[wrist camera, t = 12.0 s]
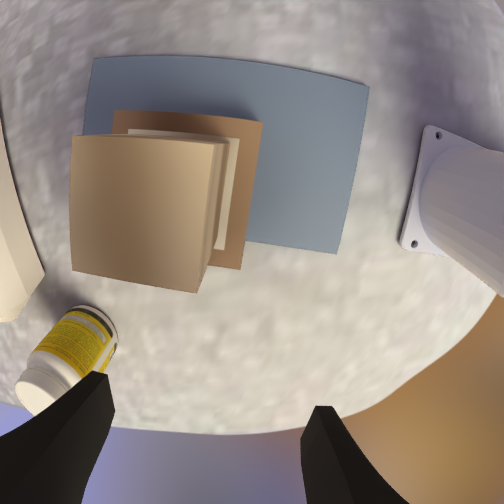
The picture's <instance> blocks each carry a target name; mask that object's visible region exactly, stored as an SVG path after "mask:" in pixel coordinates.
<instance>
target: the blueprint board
mask: <svg viewBox="0 0 504 504" xmlns="http://www.w3.org/2000/svg"><path fill="white" fill-rule="evenodd" d="M368 94H369V87H368V86H365V85H361V84H358V83H354V82H350V81H347V80H343V79H339V78H335V77H331V76H327V75H322V74H318V73H314V72H309V71H304V70H299V69H294V68H288V67H283V66H277V65H271V64H264V63H257V62H250V61H241V60H232V59H222V58H210V57H193V56H124V57H108V58H96V59H94V61H93V67H92V72H91V77H90V83H89V89H88V96H87V103H86V110H85V119H84V128H83V135H105V134H112V125H113V117H114V110H139V111H163V112H179V113H192V114H203V115H213V116H222V117H230V118H238V119H246V120H253V121H260V122H263V128H262V134H261V140H260V146H259V153H258V159H257V165H256V172H255V178H254V185H253V191H252V197H251V204H250V210H249V217H248V223H247V230H246V236H245V241H251V242H258V243H264V244H271V245H278V246H284V247H291V248H298V249H304V250H311V251H318V252H324V253H331V254H337V251H338V247H339V243H340V239H341V235H342V231H343V227H344V222H345V218H346V214H347V209H348V205H349V200H350V195H351V191H352V186H353V181H354V176H355V171H356V166H357V161H358V155H359V150H360V144H361V139H362V133H363V127H364V121H365V114H366V108H367V101H368Z"/></svg>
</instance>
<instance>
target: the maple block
mask: <svg viewBox="0 0 504 504" xmlns="http://www.w3.org/2000/svg"><path fill="white" fill-rule="evenodd" d="M229 149H230V143H227V142H220V141H211V140H202V139H193V138H183V137H171V136H159V135H144V134H105V135H80V136H72V147H71V162H70V191H69V215H70V244H71V259H72V270H73V271H77V272H82V273H87V274H92V275H97V276H102V277H107V278H112V279H117V280H122V281H128V282H133V283H139V284H144V285H150V286H155V287H161V288H167V289H173V290H179V291H185V292H191V293H197V292H198V290H199V287H200V284H201V281H202V278H203V276H204V273H205V270H206V267H207V265H208V262H209V259H210V256H211V254H212V251H213V248H214V246H215V243H216V240H217V237H218V229H219V221H220V213H221V206H222V198H223V191H224V184H225V176H226V169H227V162H228V156H229Z"/></svg>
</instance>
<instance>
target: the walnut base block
mask: <svg viewBox="0 0 504 504" xmlns="http://www.w3.org/2000/svg"><path fill="white" fill-rule="evenodd" d="M262 128H263V122H260V121H253V120H246V119H238V118H230V117H222V116H213V115H203V114H192V113H179V112H163V111H139V110H114V117H113V125H112V134H144V135H159V136H171V137H183V138H193V139H202V140H211V141H220V142H227V143H230V149H229V156H228V162H227V169H226V176H225V184H224V191H223V198H222V206H221V213H220V221H219V229H218V237H217V240H216V243H215V246H214V248H213V251H212V254H211V256H210V259H209V262H208V265H211V266H217V267H224V268H231V269H238V270H241V263H242V256H243V250H244V243H245V236H246V230H247V223H248V217H249V210H250V204H251V197H252V191H253V185H254V178H255V172H256V165H257V159H258V153H259V146H260V140H261V134H262Z"/></svg>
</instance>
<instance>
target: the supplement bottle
mask: <svg viewBox="0 0 504 504" xmlns="http://www.w3.org/2000/svg"><path fill="white" fill-rule="evenodd" d="M117 345H118V337H117V333H116V331H115V328H114V326H113V325H112V323H111V322H110V320H109V319H108V318H107V317H106V316H105V315H104V314H103V313H101V312H100V311H98V310H97V309H95V308H92V307H89V306H84V305H80V306H75V307H73V308H71V309H70V310H69V311H68V312H67V313H66V314H65V315H64V316H63V317H62V318H61V319H60V320H59V322H58V323H57V324H56V325H55V326H54V327H53V329H52V330H51V331H50V332H49V333H48V334H47V335H46V337H45V338H44V339H43V340H42V341H41V342H40V344H39V345H38V346H37V347H36V348H35V349H34V351H33V352H32V353H31V354H30V356H29V358H28V361H27V369H26V370H25V371H23V373H22V375H21V376H20V378H19V379H18V381H17V382H16V385H15V391H16V394H17V396H18V398H19V400H20V401H21V403H22V404H23V405H24V406H25V407H26V408H27V410H28V411H30V412H31V413H32V414H33V415H34V416H36V415H37V414H39V413H40V412H41V411H43V410H44V409H46V408H47V407H48V406H50V405H51V404H52V403H53V402H55V401H56V400H57V399H58V398H60V397H61V396H62V395H63V394H65V393H66V392H67V391H68V390H69V389H71V388H72V387H73V386H74V385H75V384H76V383H78V382H79V381H80V380H81V379H82V378H83V377H85V376H86V375H87V374H88V373H89V372H91V371H92V370H93V371H97V372H100V373H103V372H104V370H105V369H106V367H107V365H108V363H109V362H110V360H111V358H112V356H113V354H114V352H115V351H116V349H117Z"/></svg>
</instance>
